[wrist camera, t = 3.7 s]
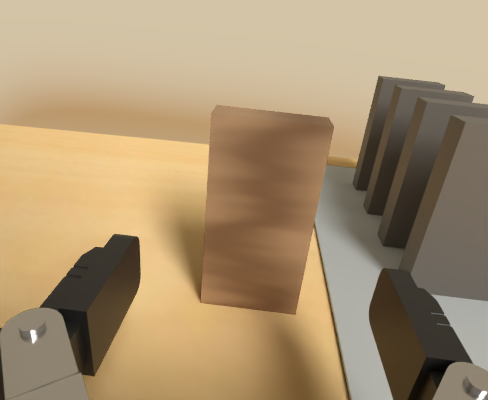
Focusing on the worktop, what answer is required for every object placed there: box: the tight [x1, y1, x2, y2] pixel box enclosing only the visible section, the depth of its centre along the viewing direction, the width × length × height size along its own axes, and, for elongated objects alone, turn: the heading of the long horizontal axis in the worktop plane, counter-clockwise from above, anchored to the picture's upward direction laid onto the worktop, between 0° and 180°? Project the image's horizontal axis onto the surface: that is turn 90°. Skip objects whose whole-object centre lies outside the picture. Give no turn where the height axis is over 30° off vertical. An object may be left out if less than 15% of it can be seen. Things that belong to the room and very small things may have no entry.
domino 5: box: [398, 115, 488, 301], centre depth 20 cm, size 5×2×10 cm, turn 86°
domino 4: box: [377, 97, 488, 249], centre depth 24 cm, size 5×2×10 cm, turn 86°
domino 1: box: [201, 105, 334, 314], centre depth 18 cm, size 5×2×10 cm, turn 86°
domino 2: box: [353, 76, 445, 191], centre depth 33 cm, size 5×2×10 cm, turn 86°
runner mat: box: [314, 165, 488, 400], centre depth 27 cm, size 14×30×1 cm, turn 176°
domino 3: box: [363, 85, 474, 216], centre depth 29 cm, size 5×2×10 cm, turn 86°
